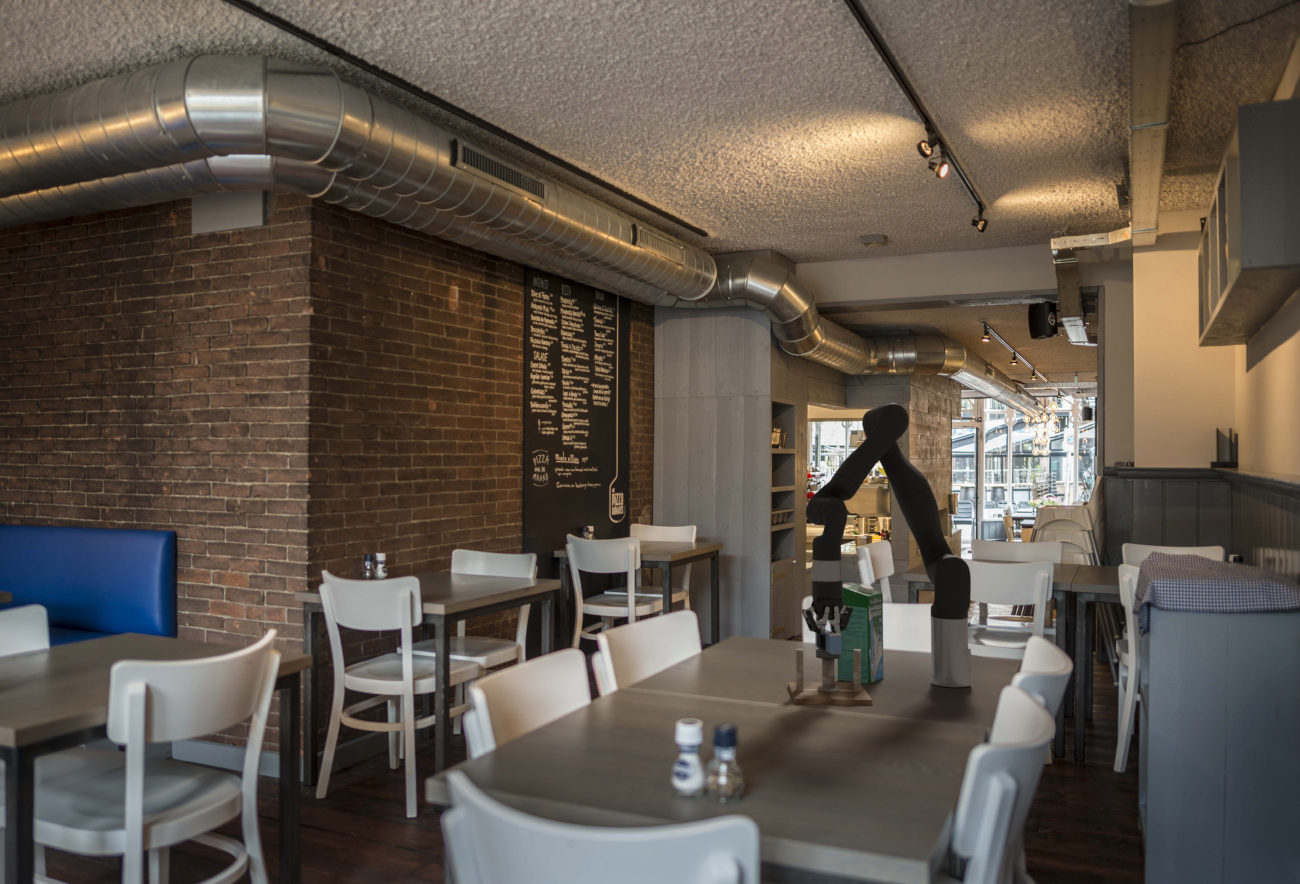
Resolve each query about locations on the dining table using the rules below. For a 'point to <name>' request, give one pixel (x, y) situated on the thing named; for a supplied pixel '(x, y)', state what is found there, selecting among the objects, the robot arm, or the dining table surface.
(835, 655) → the blue long block
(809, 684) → the base plate
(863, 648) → the milk carton
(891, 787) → the dining table surface
